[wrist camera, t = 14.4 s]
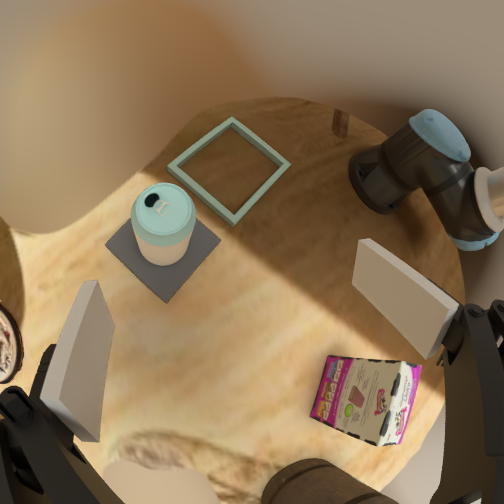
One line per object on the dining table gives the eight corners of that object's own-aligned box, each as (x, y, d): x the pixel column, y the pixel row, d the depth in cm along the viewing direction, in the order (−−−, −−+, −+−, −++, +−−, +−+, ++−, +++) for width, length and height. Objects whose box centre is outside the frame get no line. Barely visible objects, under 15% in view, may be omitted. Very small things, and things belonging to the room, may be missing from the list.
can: (138, 266, 35) (126, 241, 24) (140, 218, 37) (132, 176, 26) (188, 266, 37) (198, 242, 26) (187, 218, 39) (198, 178, 28)
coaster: (162, 190, 39) (162, 187, 39) (220, 241, 40) (221, 240, 40) (105, 246, 35) (104, 244, 34) (166, 303, 36) (166, 303, 35)
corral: (230, 121, 47) (232, 116, 45) (287, 168, 48) (291, 164, 46) (166, 170, 40) (167, 165, 39) (232, 227, 41) (235, 224, 40)
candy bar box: (332, 419, 38) (401, 445, 23) (308, 417, 37) (376, 449, 22) (350, 358, 42) (424, 364, 27) (327, 353, 41) (402, 360, 26)
